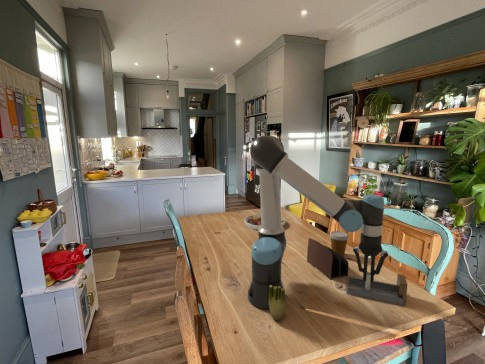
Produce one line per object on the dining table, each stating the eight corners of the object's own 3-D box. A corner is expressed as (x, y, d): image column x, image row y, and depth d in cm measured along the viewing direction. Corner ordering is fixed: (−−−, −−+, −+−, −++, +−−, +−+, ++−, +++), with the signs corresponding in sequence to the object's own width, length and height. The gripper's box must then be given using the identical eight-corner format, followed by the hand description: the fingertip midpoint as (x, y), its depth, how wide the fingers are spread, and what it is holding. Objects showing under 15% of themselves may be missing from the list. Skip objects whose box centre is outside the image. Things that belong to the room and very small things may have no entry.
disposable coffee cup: (350, 254, 142) (351, 233, 140) (343, 260, 135) (344, 238, 133) (333, 249, 149) (334, 229, 147) (325, 255, 142) (326, 234, 140)
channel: (406, 307, 97) (408, 286, 96) (346, 295, 105) (347, 275, 104) (401, 293, 106) (403, 273, 105) (346, 282, 114) (348, 264, 113)
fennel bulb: (266, 315, 94) (267, 285, 92) (276, 310, 97) (277, 280, 95) (277, 324, 89) (278, 292, 87) (288, 318, 92) (288, 288, 90)
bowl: (263, 217, 212) (263, 208, 211) (293, 226, 190) (293, 215, 189) (236, 226, 192) (236, 215, 191) (266, 236, 170) (266, 225, 169)
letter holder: (330, 281, 116) (331, 251, 114) (306, 261, 135) (307, 236, 132) (348, 277, 119) (350, 248, 117) (323, 258, 138) (324, 233, 135)
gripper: (388, 232, 103) (384, 286, 107) (353, 228, 109) (350, 280, 112) (391, 239, 97) (386, 296, 100) (353, 234, 102) (350, 289, 106)
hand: (367, 288), depth 106 cm, fingers closed
